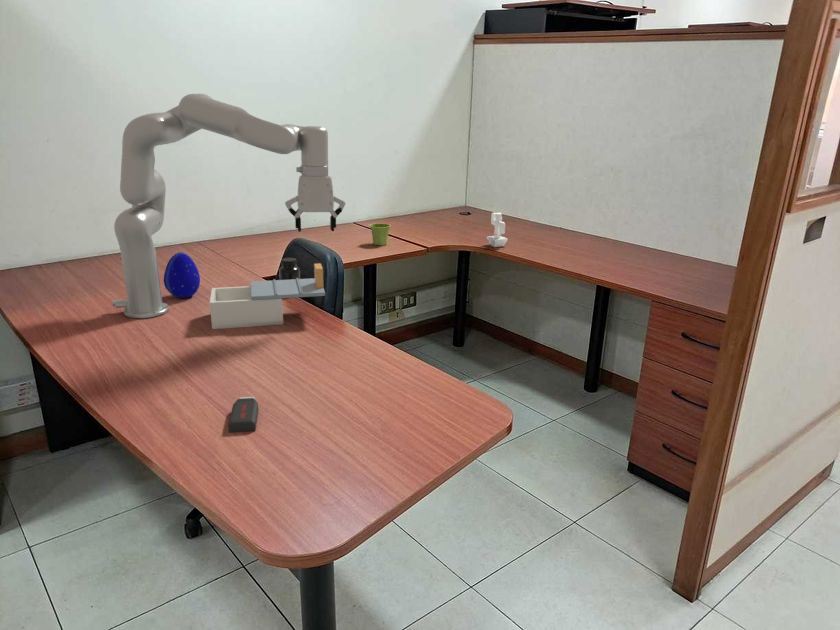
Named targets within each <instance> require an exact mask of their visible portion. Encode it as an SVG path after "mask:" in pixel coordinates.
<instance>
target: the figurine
mask: <svg viewBox="0 0 840 630" xmlns="http://www.w3.org/2000/svg"><path fill="white" fill-rule="evenodd" d="M490 215H491V218H490V223H491V225H492V226H494V231H493V232H494V233H493V234H494V235H491V236H486V239H487V242H488V244H489V246H491V247H494V248H497V247H498V248H500V247H504V245H505V244H506V243H507V242H508V240H509V238H507V237H504V236H502V235H505V233H506V223H505V222H504V221H502V220H503V213H502V212H492V213H491V214H490Z"/></svg>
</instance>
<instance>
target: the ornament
mask: <svg viewBox="0 0 840 630" xmlns="http://www.w3.org/2000/svg"><path fill="white" fill-rule="evenodd" d="M163 284H164V288H165V289H166V290H167V292H169V294H170V295H172V296H174V297H177V298H180V299H183V298H184V299H185V298H190V297H192V296H194V295H195V294H196V293H197V291H198V290H199V287H200V284H201V275H200V273H199V269H198V268H197V264H196V263H195V261H193V259H192V258H191V257H190V256H189V254H187V253H185V252H181V251H180V252H177V253H174V255H172V256H171V257H170V259H169V260H168V262H167V263H166V266H165V270H164V275H163Z"/></svg>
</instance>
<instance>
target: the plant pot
mask: <svg viewBox="0 0 840 630" xmlns="http://www.w3.org/2000/svg"><path fill="white" fill-rule="evenodd" d="M369 228H370V231H371V236H372V243H373V245H374V246H379V247H380V246H386V245H387V244H388V241H389V240H388V238H389V232H390V228H391V224H389V223H379V222H378V223H370V224H369Z"/></svg>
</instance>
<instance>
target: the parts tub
mask: <svg viewBox="0 0 840 630" xmlns="http://www.w3.org/2000/svg"><path fill="white" fill-rule="evenodd" d="M209 309H210V319H211V320H210V321H211V329H212V330H219V329H220V330H221V329H237V328H248V327H249V328H252V327H262V326H266V327H267V326H276V325H277V326H278V325H284V310H283V298H277V299H259V300H252V298H251V285H247V286H243V285H242V286H230V287H229V286H227V287H225V286H224V287H211V292H210V299H209Z"/></svg>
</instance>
